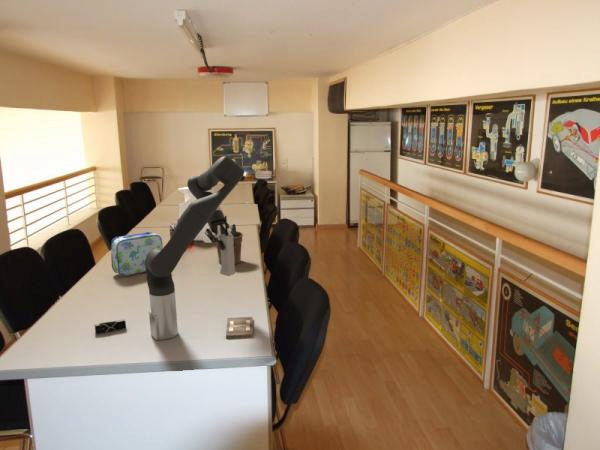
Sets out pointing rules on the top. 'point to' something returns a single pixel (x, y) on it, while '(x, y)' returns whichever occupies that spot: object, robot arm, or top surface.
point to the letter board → (239, 327)
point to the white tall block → (182, 207)
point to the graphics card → (110, 326)
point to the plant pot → (236, 250)
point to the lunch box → (133, 252)
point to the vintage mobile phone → (227, 253)
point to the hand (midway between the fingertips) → (228, 248)
